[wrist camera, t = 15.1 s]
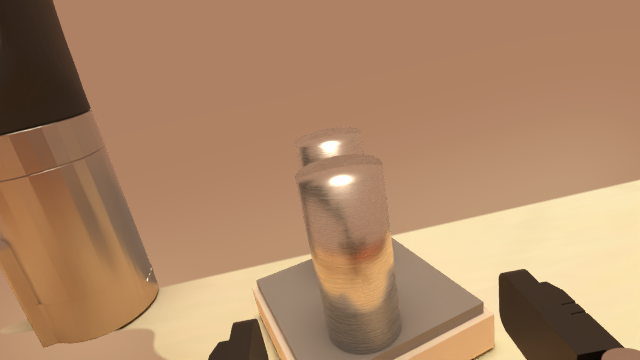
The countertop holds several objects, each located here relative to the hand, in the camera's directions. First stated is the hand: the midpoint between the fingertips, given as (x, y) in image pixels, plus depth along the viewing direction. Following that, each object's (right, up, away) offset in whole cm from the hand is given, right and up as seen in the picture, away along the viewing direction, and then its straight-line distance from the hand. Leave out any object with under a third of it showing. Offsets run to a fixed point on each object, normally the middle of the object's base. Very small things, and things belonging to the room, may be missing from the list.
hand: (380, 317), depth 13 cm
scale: (+1, -6, +15) cm, 16 cm away
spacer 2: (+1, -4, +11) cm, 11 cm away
